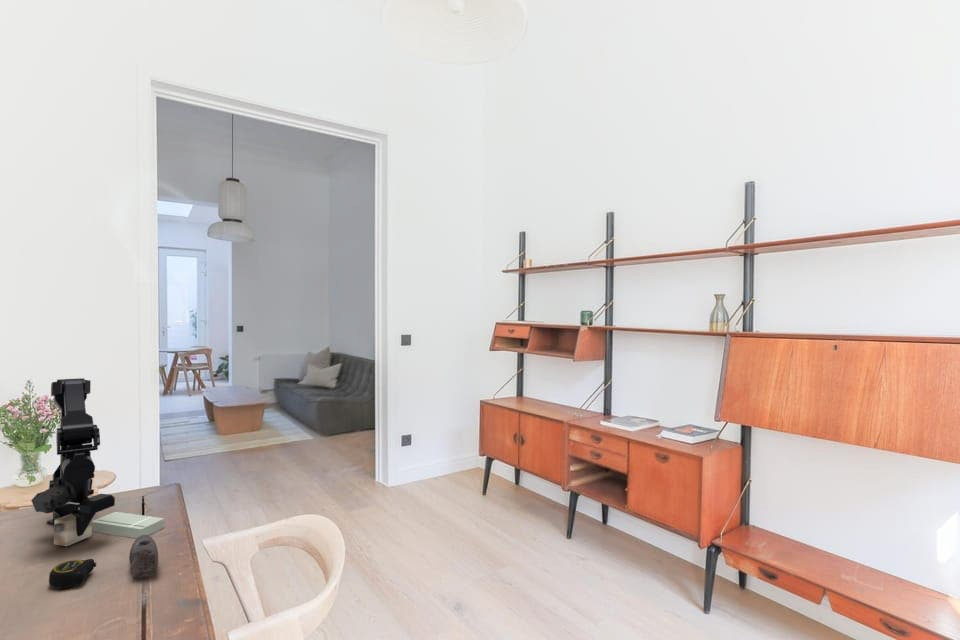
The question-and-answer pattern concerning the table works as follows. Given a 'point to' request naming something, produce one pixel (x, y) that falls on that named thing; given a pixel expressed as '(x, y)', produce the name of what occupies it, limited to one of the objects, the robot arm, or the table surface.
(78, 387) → the robot arm
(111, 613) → the table surface
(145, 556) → the perforated stone tool
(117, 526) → the painted board
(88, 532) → the stacked beige grey blocks
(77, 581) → the tape measure
